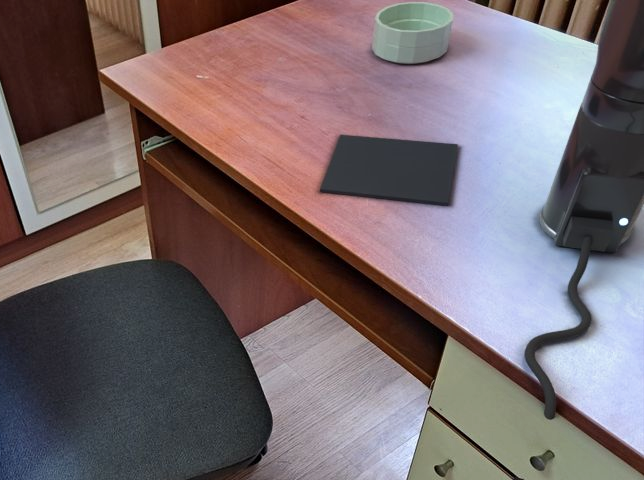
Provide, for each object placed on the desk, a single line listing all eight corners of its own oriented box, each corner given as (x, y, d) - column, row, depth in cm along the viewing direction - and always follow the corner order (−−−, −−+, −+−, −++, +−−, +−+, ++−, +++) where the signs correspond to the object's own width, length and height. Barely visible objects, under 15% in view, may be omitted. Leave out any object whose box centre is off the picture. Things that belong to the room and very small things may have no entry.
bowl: (443, 67, 106) (450, 33, 102) (366, 64, 110) (370, 30, 106) (450, 36, 113) (456, 2, 109) (378, 33, 117) (381, 1, 113)
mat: (447, 206, 81) (448, 202, 81) (319, 192, 86) (319, 188, 86) (457, 147, 90) (457, 144, 90) (339, 137, 95) (340, 134, 95)
